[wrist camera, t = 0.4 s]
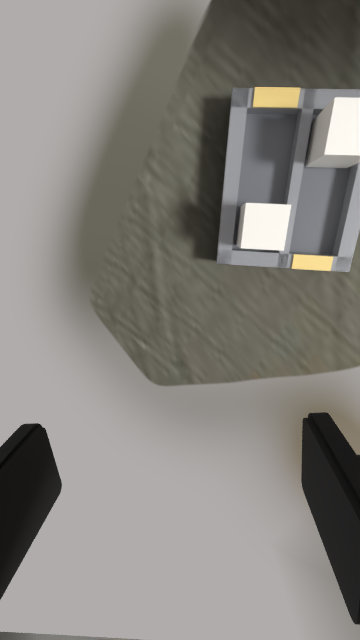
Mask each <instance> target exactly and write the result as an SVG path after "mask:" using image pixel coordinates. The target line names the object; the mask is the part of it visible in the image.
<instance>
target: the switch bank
mask: <svg viewBox="0 0 360 640" xmlns="http://www.w3.org/2000/svg"><path fill="white" fill-rule="evenodd" d="M335 97H349V98H360V89H300V88H292V87H255V88H233V89H232V96H231V103H230V114H229V125H228V136H227V147H226V158H225V170H224V181H223V192H222V203H221V214H220V225H219V236H218V247H217V258H216V262H217V264H231V265H247V266H263V267H279V268H292V269H307V270H323V271H342V272H349V271H350V267H351V262H352V258H353V254H354V250H355V246H356V242H357V238H358V234H359V229H360V163H357V164H355V165H353V166H351V167H348V168H322V167H305V165H306V159H307V153H308V147H309V142H310V136H311V130H312V124H313V120H314V119H315V118H316V117H317V116H318V115H319V114H320V113H321V112H322V111H323V109H324V108H325V107H326V106H327V105H328V104H329V103H330V102H331V101H332V100H333V99H334V98H335ZM245 203H264V204H286V205H291V210H290V216H289V223H288V229H287V235H286V241H285V247H284V251H279V250H262V249H245V248H240V247H238V246H236V242H237V233H238V224H239V215H240V207H241V206H242V205H243V204H245Z"/></svg>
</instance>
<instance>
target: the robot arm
mask: <svg viewBox="0 0 360 640" xmlns="http://www.w3.org/2000/svg"><path fill="white" fill-rule="evenodd" d="M302 433H303V435H302V487H303V491H304V494H305V496H306V499H307V502H308V505H309V507H310V510H311V513H312V515H313V518H314V520H315V523H316V526H317V528H318V531H319V534H320V537H321V539H322V542H323V545H324V547H325V550H326V552H327V555H328V558H329V560H330V563H331V566H332V568H333V571H334V574H335V576H336V579H337V582H338V584H339V587H340V590H341V592H342V595H343V598H344V600H345V603H346V606H347V608H348V611H349V614H350V616H351V618H352V620H353V622H354V623H355V624H360V455H356V453H355V452H354V450H353V449H352V448H351V446H350V445H349V443H348V442H347V440H346V439H345V437H344V436H343V434H342V433H341V431H340V430H339V428H338V427H337V425H336V424H335V422H334V421H333V419H332V418H331V416H330V415H329V414H328V413H310V414H309V415H308V418H303V431H302ZM61 487H62V484H61V479H60V476H59V473H58V469H57V466H56V462H55V459H54V456H53V452H52V449H51V446H50V442H49V439H48V436H47V433H46V430H45V428H43V427H42V426H41V425H40V424H38V423H37V424H23V425H21V426H20V427H19V428H18V429H17V430H16V431H15V432H14V433H13V434H12V436H11V437H10V438H9V439H8V440H7V441H6V442H5V443H4V444H3V445H2V446H1V447H0V599H1V598H2V596H3V594H4V592H5V590H6V589H7V587H8V585H9V583H10V582H11V580H12V578H13V576H14V574H15V573H16V571H17V569H18V567H19V566H20V564H21V562H22V560H23V558H24V557H25V555H26V553H27V551H28V549H29V548H30V546H31V544H32V542H33V540H34V539H35V537H36V535H37V533H38V532H39V530H40V528H41V526H42V524H43V523H44V521H45V519H46V517H47V515H48V514H49V512H50V510H51V508H52V507H53V504H54V503H55V501H56V499H57V498H58V496H59V494H60V492H61ZM0 640H137V639H120V638H103V637H86V636H69V635H68V636H67V635H51V634H33V633H13V632H0Z"/></svg>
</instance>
